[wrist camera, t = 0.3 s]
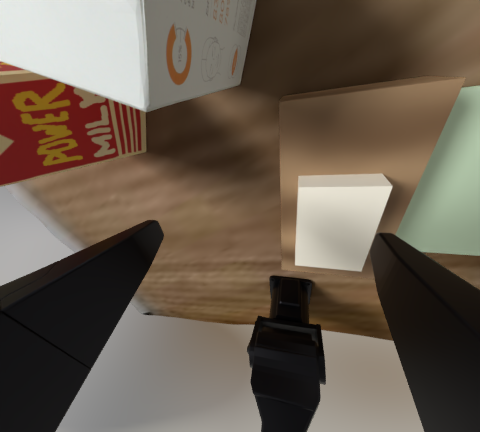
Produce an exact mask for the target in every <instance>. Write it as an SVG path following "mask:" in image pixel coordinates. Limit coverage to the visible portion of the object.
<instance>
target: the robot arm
mask: <svg viewBox="0 0 480 432" xmlns="http://www.w3.org/2000/svg"><path fill="white" fill-rule="evenodd" d="M163 238H164V234H163V231H162V229H161V227H160V225H159V223H158V221H156V220H147V221H145V222H143V223H140V224H138V225H136V226H134V227H132V228H129V229H127V230H125V231H123V232H121V233H118V234H116V235H114V236H112V237H110V238H107V239H105V240H103V241H101V242H99V243H96V244H94V245H92V246H90V247H88V248H86V249H83V250H81V251H79V252H77V253H75V254H72V255H70V256H68V257H66V258H64V259H61V260H60V261H57V262H55V263H53V264H50V265H48V266H46V267H44V268H41V269H39V270H37V271H35V272H32V273H31V274H28V275H26V276H23V277H21V278H19V279H16V280H14V281H11V282H9V283H7V284H4V285H2V286H0V432H55V431H56V430H57V428H58V426H59V424H60V423H61V421H62V419H63V417H64V416H65V414H66V412H67V411H68V409H69V407H70V405H71V403H72V402H73V400H74V398H75V397H76V395H77V393H78V391H79V390H80V388H81V386H82V384H83V383H84V381H85V379H86V378H87V376H88V374H89V372H90V371H91V368H92V367H93V365H94V363H95V362H96V360H97V358H98V356H99V355H100V353H101V351H102V350H103V348H104V346H105V344H106V343H107V341H108V339H109V337H110V336H111V334H112V332H113V330H114V329H115V327H116V325H117V323H118V322H119V320H120V318H121V317H122V315H123V313H124V311H125V310H126V308H127V306H128V304H129V303H130V301H131V299H132V298H133V296H134V294H135V292H136V291H137V289H138V287H139V285H140V284H141V282H142V280H143V279H144V277H145V275H146V273H147V272H148V270H149V268H150V266H151V264H152V262H153V260H154V258H155V256H156V253H157V251H158V249H159V247H160V245H161V242H162V240H163ZM370 258H371V263H372V268H373V272H374V277H375V282H376V287H377V292H378V296H379V299H380V302H381V305H382V308H383V311H384V314H385V317H386V320H387V323H388V326H389V329H390V332H391V335H392V338H393V340H394V343H395V346H396V349H397V352H398V355H399V358H400V361H401V364H402V367H403V370H404V372H405V376H406V379H407V382H408V385H409V388H410V390H411V393H412V396H413V399H414V402H415V405H416V408H417V411H418V414H419V417H420V420H421V423H422V426H423V429H424V432H480V290H479V289H477V288H475V287H474V286H472V285H471V284H469V283H468V282H466V281H465V280H463V279H462V278H460V277H459V276H457V275H456V274H454V273H453V272H451V271H449V270H448V269H446V268H445V267H443V266H442V265H440V264H439V263H437V262H436V261H434V260H433V259H431V258H430V257H428V256H426V255H425V254H423V253H422V252H420V251H419V250H417V249H416V248H414V247H413V246H411V245H410V244H408V243H407V242H405V241H403V240H402V239H400V238H399V237H397V236H396V235H394V234H393V233H385V232H379V233H377V234H376V235H375V238H374V240H373V243H372V246H371V249H370ZM311 288H312V282H311V281H310V280H303V279H294V278H286V277H277V276H270V292H271V308H270V317H269V318H266V317H262V316H258V318H257V321H255V326H254V330H253V334H252V338H251V340H250V343H249V345H248V347H247V352H248V354H249V360H250V367H251V368H252V376H251V386H252V390H253V394H254V395H255V398H256V402H257V406H258V409H259V413H260V416H261V420H262V429H261V432H307V430H308V428H309V426H310V424H311V421H312V419H313V417H314V415H315V412H316V410H317V408H318V405H319V402H320V384H324V385H325V384H326V375H325V359H324V350H323V343H322V334H321V326H320V325H319V324H316V325H314V324H309V307H308V305H309V302H310V295H311Z"/></svg>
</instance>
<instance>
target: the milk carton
mask: <svg viewBox="0 0 480 432" xmlns="http://www.w3.org/2000/svg"><path fill="white" fill-rule="evenodd" d="M144 152H146V112H144V111H142V110H139V109H136V108H133V107H130V106H128V105H125V104H122V103H119V102H116V101H113V100H110V99H108V98H105V97H102V96H99V95H96V94H93V93H90V92H87V91H85V90H82V89H79V88H76V87H73V86H70V85H67V84H64V83H61V82H59V81H56V80H53V79H50V78H47V77H44V76H41V75H39V74H36V73H33V72H30V71H27V70H24V69H21V68H18V67H16V66H13V65H10V64H7V63H4V62H1V61H0V187H1V186H6V185H10V184H14V183H18V182H23V181H27V180H31V179H35V178H40V177H44V176H48V175H52V174H56V173H61V172H65V171H69V170H73V169H78V168H82V167H86V166H90V165H94V164H99V163H103V162H107V161H111V160H115V159H120V158H124V157H128V156H132V155H136V154H140V153H144Z"/></svg>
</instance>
